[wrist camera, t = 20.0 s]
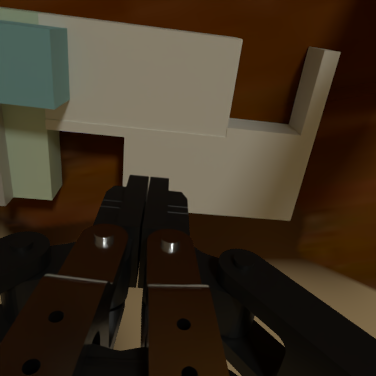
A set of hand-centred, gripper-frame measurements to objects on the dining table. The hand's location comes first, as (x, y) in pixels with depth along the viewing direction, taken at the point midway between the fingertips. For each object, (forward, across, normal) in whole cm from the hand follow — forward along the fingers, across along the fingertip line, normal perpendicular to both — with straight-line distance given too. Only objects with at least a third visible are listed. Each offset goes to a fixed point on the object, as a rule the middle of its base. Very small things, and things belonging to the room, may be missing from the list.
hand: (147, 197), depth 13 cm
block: (+20, +12, -1) cm, 24 cm away
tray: (+24, 0, +4) cm, 25 cm away
